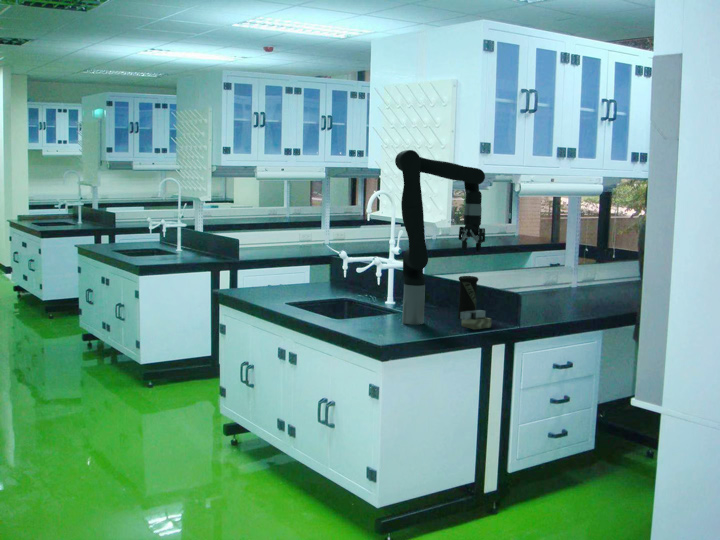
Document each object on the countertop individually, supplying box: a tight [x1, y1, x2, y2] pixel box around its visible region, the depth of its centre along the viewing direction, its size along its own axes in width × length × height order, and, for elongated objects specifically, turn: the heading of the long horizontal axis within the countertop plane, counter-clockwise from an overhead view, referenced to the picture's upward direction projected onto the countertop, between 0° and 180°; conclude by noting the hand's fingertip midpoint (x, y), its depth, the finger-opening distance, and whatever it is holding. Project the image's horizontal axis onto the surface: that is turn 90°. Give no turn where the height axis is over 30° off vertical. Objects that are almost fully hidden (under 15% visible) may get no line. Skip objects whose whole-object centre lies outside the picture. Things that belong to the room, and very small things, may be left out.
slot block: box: [460, 312, 492, 330], centre depth 326 cm, size 10×8×7 cm
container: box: [457, 275, 479, 320], centre depth 345 cm, size 9×9×20 cm
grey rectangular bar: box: [459, 309, 486, 320], centre depth 325 cm, size 3×3×12 cm
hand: (471, 250), depth 334 cm, fingers open, 8 cm apart
